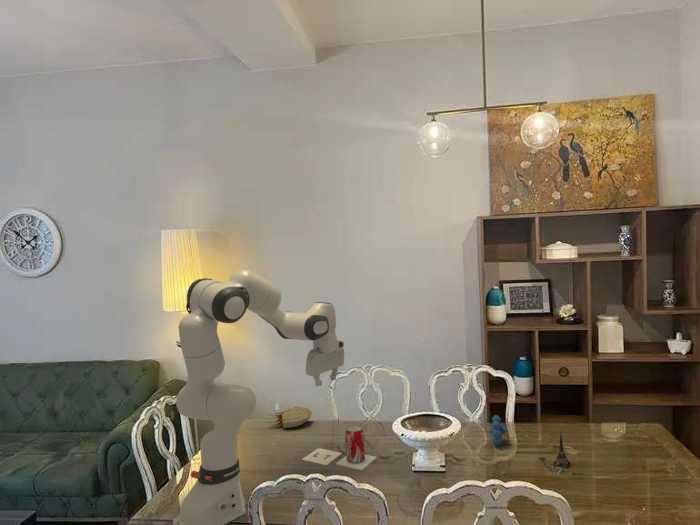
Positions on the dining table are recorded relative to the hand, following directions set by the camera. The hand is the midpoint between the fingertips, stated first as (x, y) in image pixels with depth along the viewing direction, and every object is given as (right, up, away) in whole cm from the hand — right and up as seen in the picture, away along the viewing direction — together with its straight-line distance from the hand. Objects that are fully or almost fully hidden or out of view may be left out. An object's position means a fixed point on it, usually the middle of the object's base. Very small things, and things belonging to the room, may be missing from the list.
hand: (326, 382), depth 187 cm
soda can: (+11, -29, 0) cm, 31 cm away
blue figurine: (+67, -26, +8) cm, 72 cm away
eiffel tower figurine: (+82, -27, -10) cm, 87 cm away
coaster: (+11, -29, 0) cm, 31 cm away
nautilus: (-19, -29, +40) cm, 53 cm away
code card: (-2, -30, +5) cm, 30 cm away
